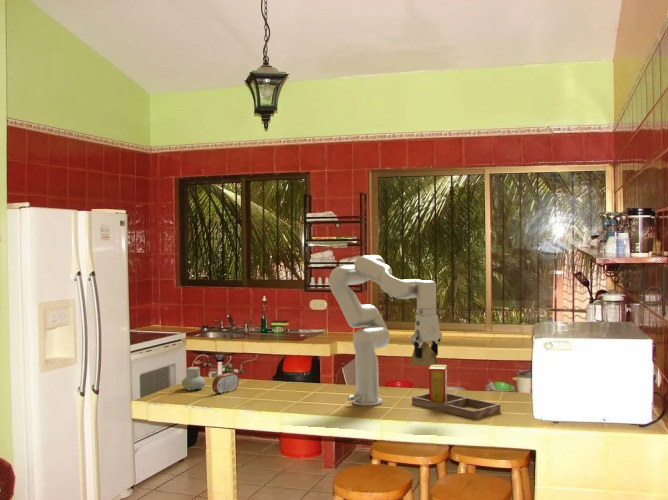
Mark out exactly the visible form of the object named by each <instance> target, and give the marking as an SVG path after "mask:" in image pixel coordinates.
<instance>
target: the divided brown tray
mask: <svg viewBox="0 0 668 500" xmlns="http://www.w3.org/2000/svg"><path fill="white" fill-rule="evenodd" d="M411 405H416V406H418V407H422V408H423V407H424V408H426V409H432V410H435V411H440V412H442V413H443V412H444V413H448V414H451V415H456V416H460V417H464V418H467V419H471V420H476V419H480V418H484V417H488V416H492V415H494V414H495V415H496V414H499V413H501V404H499V403H495V402H490V401H485V400H481V399H475V398H471V397H467V396H463V395H458V394H453V393H449V392H447V402H445V403H439V402H435V401H431V400H429V393H427V392H426V393H422V394H419V395H413V396H412V397H411ZM466 406H469V407H473V408H477V409H475V410H473V409H469V408H464V407H466ZM481 408H482V409H481Z"/></svg>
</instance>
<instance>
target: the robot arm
mask: <svg viewBox="0 0 668 500" xmlns="http://www.w3.org/2000/svg"><path fill="white" fill-rule="evenodd" d="M328 278H329V279H328V283H329V284H328V285H329V289H330V291H331V293H332V294H333V297H334V298H335V300H336V302H337V303H338V305H339V308H340V310H341V312H342V315H343V316H344V318H345V320H346V322H347V324H348V325H349V327H351V328H354V329H357V328H358V330H356V331H355V332H354V334H353V336H352V337H353V338H352V343H353V347H354V348H353V349H354V354H355V392H353V393H354V394H353V395H348V396H347V401H349V402H351V401H352V403H353V404H354V405H357V406H363V407H364V406H367V407H368V406H377V405H381V404H382V403H383V399H382V398H381V397H380V396H379V395H380V393H379V391H380V390H379V359H378V356H377V353H376V350H378V349H383V348H385V347H387V346H388V344H389V343H390V340H391V337H390V336H391V335H390V331H389V329H388V327H387V325H386V322H385V321H384V319H383V317H382V315H381V313H380V311H379V309H378V308H377V307H376V306H374V305H372V304H368V303H367V304H366V303H365V304H362V303H361V301H360V299H359V297H358V295H357V294H356V293H355V292H354V291H353V290H352V289H351V288H350V286H352V285H354V286H355V285H361V284H364V283H366V282H368V281H372V282H374V283H376V284H377V285H379V287H380V289H381V290H382V291H383V292H384V293H385V294H387V295H389V296H391V297H394V298H395V299H398V300H404V299H416V316H415V323H414V333H413V334H412V336H410V341H411V344H412V345H413V347H415V357H416V358H422V348H421V346H422V344H423V342H426V343H429V342H430V343H431V344H430V347H431V349H432V350H433V352H434V353H435V354H436V357H437V356H438V355H439V345H440V342H441V339H442V336H443V333H442V332H440V321H439V316H438V315H437V283H436V281H434V280H421V279H418V278H417V279H416V278H413V279H412V278H411V279H400V278H399V279H398V278H397V277H394V276H393V270H392V267H390V266H389V265H388V264H386V262H385V259H384V258H383V256H382V257H381V256H380V255H377V254H371V255H370V254H369V255H367V254H365V255H360V256H359V257H357V258H356V259H355V261H354V263H353V265H350V264H348V265H340V266H337V267H335V268H334V269H332V270H331V272H330V273H329V277H328ZM359 328H360V329H359ZM419 342H420V343H419ZM418 343H419V344H418Z"/></svg>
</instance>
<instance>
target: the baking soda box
mask: <svg viewBox="0 0 668 500" xmlns="http://www.w3.org/2000/svg"><path fill="white" fill-rule="evenodd" d="M428 389H429V391H428V392H429V400H431V401H435V402H439V403H445V402H448V401H447V393H448V365H447V364H438V365H429V368H428Z"/></svg>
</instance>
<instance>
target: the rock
mask: <svg viewBox="0 0 668 500" xmlns="http://www.w3.org/2000/svg"><path fill="white" fill-rule="evenodd" d="M419 343H420V342H419ZM419 343H418V344H419ZM413 347H414V346H413ZM421 348H422V358H416V357H415V347H414V349H413V351H412V355H411V362H410V367H414V366H417V367H423V366H431V365H439V359H438V357H437V356H436V354H435V353H434V352H433V350H432V349H431V345H429V343H428V342H423V344H422V346H421Z"/></svg>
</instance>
